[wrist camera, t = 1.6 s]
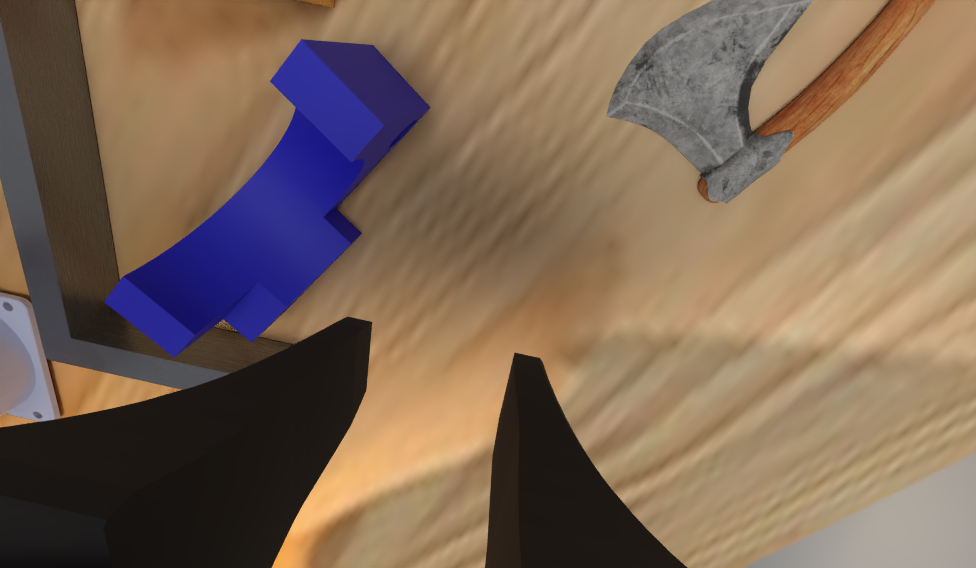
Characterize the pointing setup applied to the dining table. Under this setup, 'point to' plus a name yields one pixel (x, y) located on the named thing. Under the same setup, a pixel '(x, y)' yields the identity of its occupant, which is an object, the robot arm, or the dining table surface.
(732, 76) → the axe
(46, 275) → the keeper cradle
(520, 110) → the dining table surface
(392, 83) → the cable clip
